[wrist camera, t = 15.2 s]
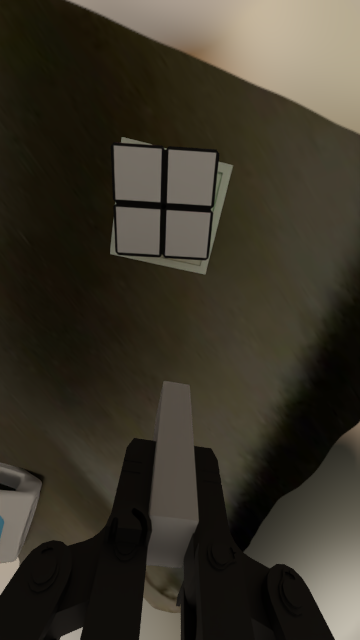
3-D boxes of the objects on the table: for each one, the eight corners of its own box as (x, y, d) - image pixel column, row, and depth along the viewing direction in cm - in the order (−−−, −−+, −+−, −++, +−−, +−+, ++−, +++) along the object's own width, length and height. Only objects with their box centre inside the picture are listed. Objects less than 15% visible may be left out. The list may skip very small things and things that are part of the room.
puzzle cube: (131, 167, 30) (109, 140, 21) (208, 172, 30) (220, 148, 21) (132, 248, 34) (114, 255, 25) (201, 252, 34) (209, 261, 25)
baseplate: (114, 252, 35) (110, 253, 33) (125, 143, 30) (121, 136, 28) (203, 271, 36) (205, 274, 34) (229, 169, 31) (232, 165, 29)
